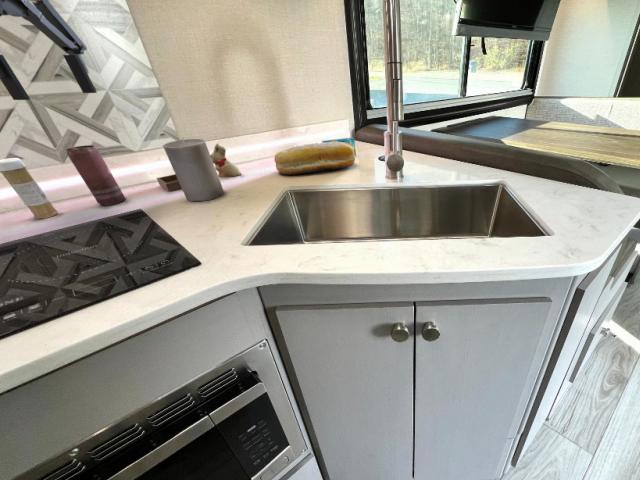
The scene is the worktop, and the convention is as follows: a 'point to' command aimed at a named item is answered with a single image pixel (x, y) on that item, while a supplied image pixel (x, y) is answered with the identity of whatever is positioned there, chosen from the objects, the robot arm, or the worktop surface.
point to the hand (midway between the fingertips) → (59, 96)
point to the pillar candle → (194, 169)
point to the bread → (315, 158)
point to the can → (96, 174)
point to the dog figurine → (223, 163)
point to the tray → (169, 183)
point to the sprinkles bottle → (27, 188)
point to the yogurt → (344, 140)
